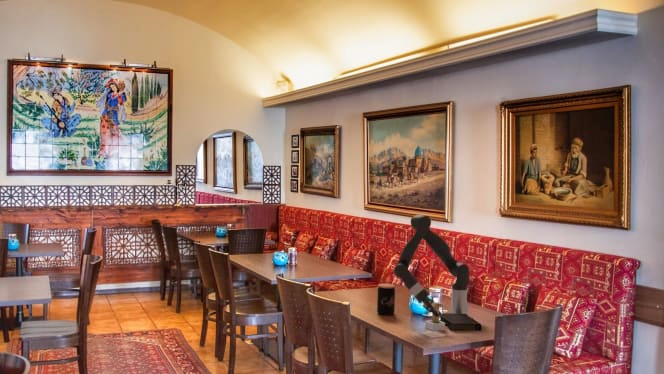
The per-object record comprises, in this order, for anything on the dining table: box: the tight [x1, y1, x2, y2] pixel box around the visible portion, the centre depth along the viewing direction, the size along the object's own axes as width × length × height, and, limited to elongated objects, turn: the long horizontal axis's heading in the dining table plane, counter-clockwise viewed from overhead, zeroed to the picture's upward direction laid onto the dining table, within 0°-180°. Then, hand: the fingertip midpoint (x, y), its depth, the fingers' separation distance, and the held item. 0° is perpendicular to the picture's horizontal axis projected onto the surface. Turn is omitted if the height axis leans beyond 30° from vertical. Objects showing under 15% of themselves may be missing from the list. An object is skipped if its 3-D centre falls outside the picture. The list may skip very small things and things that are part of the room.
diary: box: [439, 312, 483, 332], centre depth 402 cm, size 19×25×5 cm
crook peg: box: [431, 301, 446, 323], centre depth 391 cm, size 7×4×13 cm, turn 66°
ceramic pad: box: [422, 331, 446, 339], centre depth 378 cm, size 9×9×1 cm
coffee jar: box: [376, 283, 396, 317], centre depth 427 cm, size 11×11×18 cm
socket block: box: [424, 319, 446, 332], centre depth 392 cm, size 8×8×4 cm
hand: (439, 315), depth 391 cm, fingers closed on crook peg, 3 cm apart
